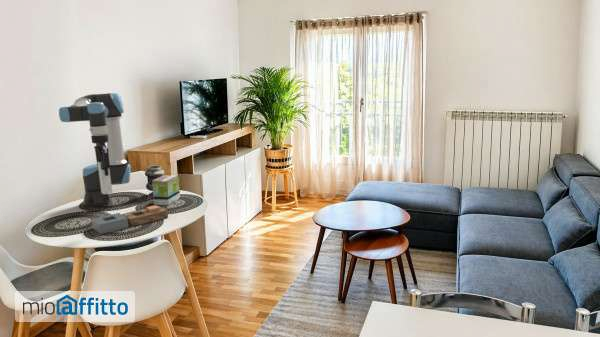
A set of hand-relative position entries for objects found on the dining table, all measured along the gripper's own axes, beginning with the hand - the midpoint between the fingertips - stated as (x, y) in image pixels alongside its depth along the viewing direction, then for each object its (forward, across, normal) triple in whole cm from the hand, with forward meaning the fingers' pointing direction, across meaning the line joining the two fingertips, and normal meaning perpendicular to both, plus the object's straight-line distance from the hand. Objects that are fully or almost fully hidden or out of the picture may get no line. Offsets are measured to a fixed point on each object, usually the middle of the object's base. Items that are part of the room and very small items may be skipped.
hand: (105, 180), depth 239 cm
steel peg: (+6, 0, 0) cm, 6 cm away
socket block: (+25, 0, +18) cm, 31 cm away
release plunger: (+24, 0, +23) cm, 33 cm away
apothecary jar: (+25, -43, +43) cm, 66 cm away
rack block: (+25, 0, 0) cm, 25 cm away
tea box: (+25, -23, +41) cm, 53 cm away
